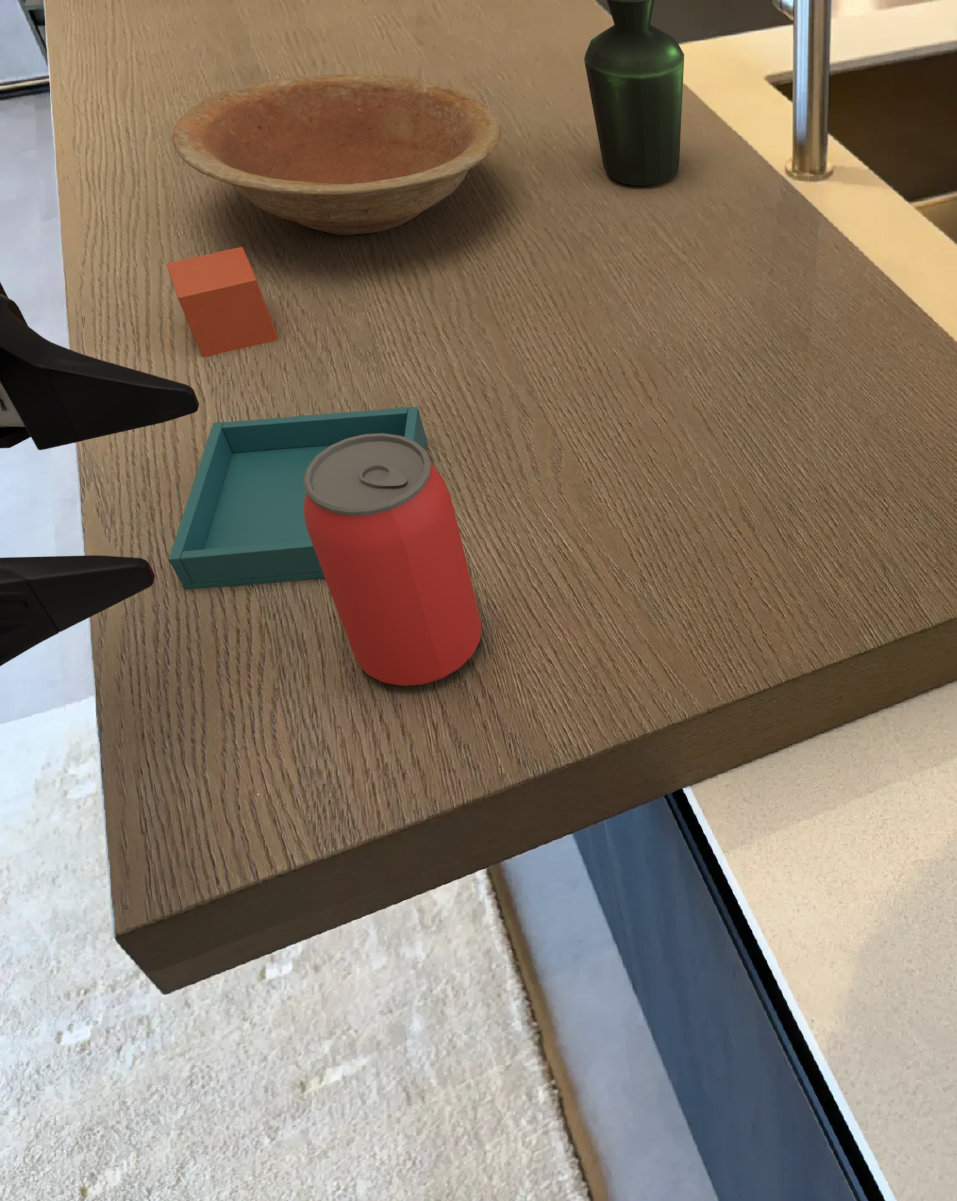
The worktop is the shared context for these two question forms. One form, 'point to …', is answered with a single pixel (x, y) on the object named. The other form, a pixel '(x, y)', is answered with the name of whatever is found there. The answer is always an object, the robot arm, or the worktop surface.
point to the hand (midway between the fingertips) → (174, 479)
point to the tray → (265, 496)
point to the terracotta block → (222, 301)
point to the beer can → (392, 558)
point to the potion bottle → (636, 95)
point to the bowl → (339, 147)
